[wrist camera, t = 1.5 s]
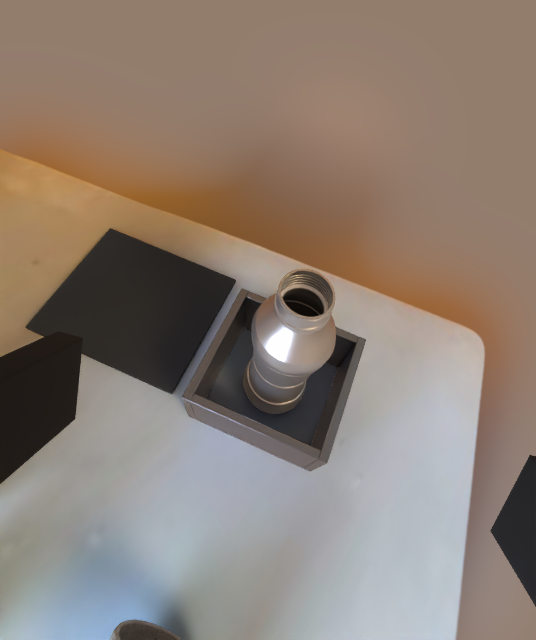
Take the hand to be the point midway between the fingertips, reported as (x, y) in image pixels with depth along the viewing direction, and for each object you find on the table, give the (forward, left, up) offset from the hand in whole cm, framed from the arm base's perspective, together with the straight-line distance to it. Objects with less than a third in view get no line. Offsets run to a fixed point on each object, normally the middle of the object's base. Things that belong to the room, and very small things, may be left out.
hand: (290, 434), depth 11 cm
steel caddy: (-1, +10, -28) cm, 30 cm away
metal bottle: (-1, +10, -28) cm, 30 cm away
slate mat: (-20, +13, -28) cm, 37 cm away
